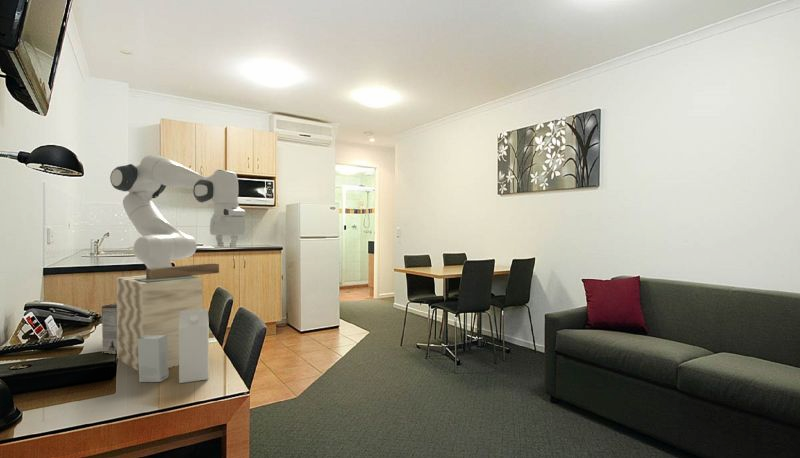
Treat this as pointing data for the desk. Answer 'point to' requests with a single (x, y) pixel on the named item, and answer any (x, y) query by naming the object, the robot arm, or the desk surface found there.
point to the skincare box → (153, 358)
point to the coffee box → (109, 327)
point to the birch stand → (153, 312)
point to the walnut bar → (181, 271)
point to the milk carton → (193, 345)
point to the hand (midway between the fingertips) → (226, 247)
